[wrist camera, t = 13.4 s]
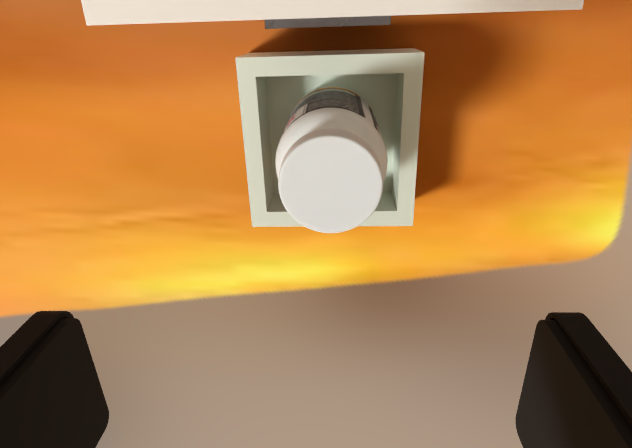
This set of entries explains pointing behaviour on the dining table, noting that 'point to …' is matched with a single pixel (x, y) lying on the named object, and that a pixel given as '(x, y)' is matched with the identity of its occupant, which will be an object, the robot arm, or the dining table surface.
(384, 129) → the pale green square tray
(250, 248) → the dining table surface
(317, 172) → the pill bottle
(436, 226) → the dining table surface
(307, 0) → the board
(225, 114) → the dining table surface
